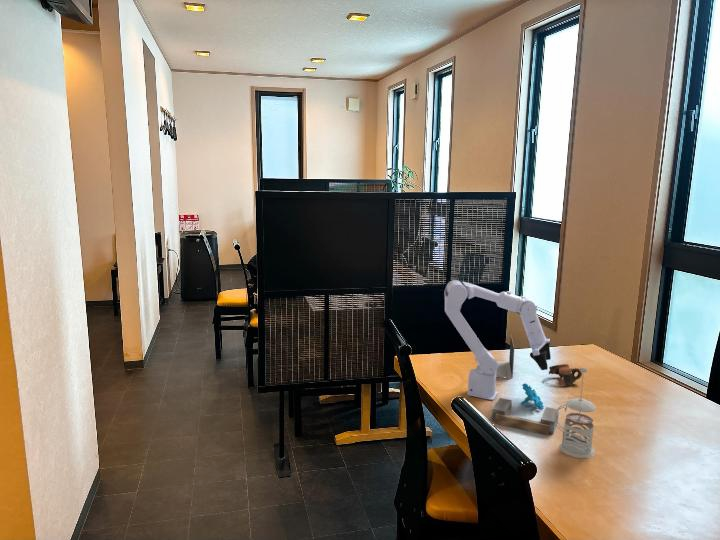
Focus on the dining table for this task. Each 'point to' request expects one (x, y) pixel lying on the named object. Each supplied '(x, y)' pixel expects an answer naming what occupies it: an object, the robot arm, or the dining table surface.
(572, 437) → the french press
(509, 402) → the cradle
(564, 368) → the pottery mug
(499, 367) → the laptop
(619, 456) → the dining table surface
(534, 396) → the blue knobby piece
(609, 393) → the dining table surface
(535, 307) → the robot arm
